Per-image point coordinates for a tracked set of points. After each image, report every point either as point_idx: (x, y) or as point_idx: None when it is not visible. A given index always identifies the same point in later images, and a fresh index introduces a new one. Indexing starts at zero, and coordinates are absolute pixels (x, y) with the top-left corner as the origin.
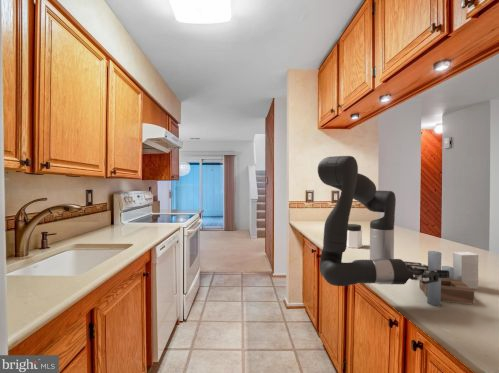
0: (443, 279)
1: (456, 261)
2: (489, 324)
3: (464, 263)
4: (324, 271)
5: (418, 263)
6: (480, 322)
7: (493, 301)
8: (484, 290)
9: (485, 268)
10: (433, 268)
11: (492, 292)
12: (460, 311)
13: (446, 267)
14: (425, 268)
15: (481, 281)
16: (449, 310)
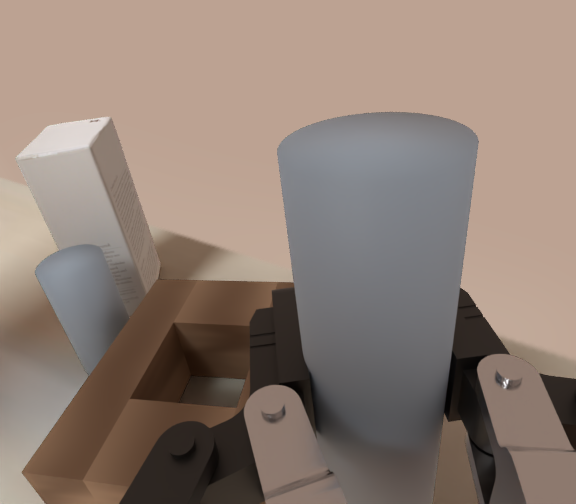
0: (138, 343)
1: (67, 201)
2: (565, 370)
3: (111, 187)
4: None
5: (185, 461)
6: None
7: (283, 269)
8: (179, 256)
9: (5, 196)
10: (447, 360)
11: (199, 245)
12: (449, 432)
13: (67, 266)
14: (572, 478)
15: None
16: (463, 493)
